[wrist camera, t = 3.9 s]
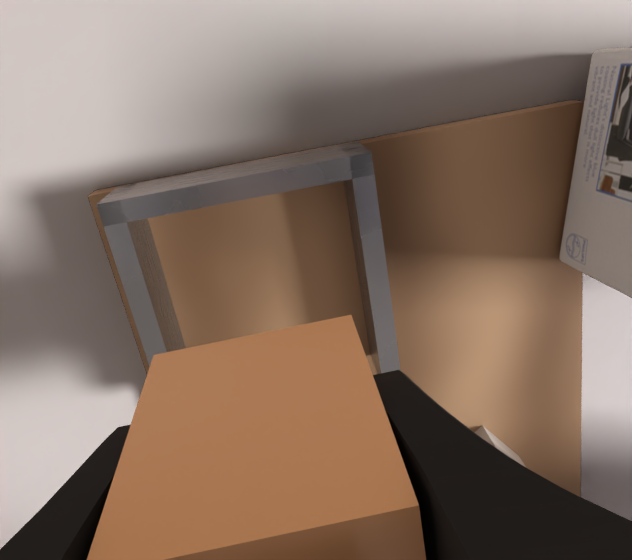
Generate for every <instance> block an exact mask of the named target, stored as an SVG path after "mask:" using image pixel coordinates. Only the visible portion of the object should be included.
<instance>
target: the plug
mask: <svg viewBox="0 0 632 560" xmlns="http://www.w3.org/2000/svg"><path fill="white" fill-rule="evenodd" d="M87 560H426V554H425V547H424V539H423V532H422V524H421V517H420V509H419V504H418V501H417V498H416V496H415V493H414V490H413V487H412V484H411V481H410V479H409V476H408V473H407V470H406V467H405V465H404V462H403V459H402V456H401V453H400V450H399V448H398V445H397V442H396V439H395V436H394V434H393V431H392V428H391V425H390V422H389V419H388V417H387V414H386V411H385V408H384V405H383V403H382V400H381V397H380V394H379V391H378V389H377V386H376V383H375V380H374V377H373V374H372V372H371V369H370V366H369V363H368V360H367V358H366V355H365V352H364V349H363V346H362V343H361V341H360V338H359V335H358V332H357V329H356V327H355V324H354V321H353V318H352V315H347V316H342V317H337V318H332V319H327V320H322V321H318V322H313V323H308V324H303V325H298V326H293V327H288V328H283V329H278V330H273V331H269V332H264V333H259V334H254V335H249V336H244V337H239V338H234V339H229V340H224V341H219V342H215V343H210V344H205V345H200V346H195V347H190V348H185V349H180V350H175V351H170V352H166V353H161V354H156V355H153V358H152V361H151V364H150V367H149V371H148V374H147V377H146V380H145V383H144V386H143V389H142V392H141V395H140V398H139V401H138V404H137V407H136V410H135V413H134V416H133V420H132V423H131V426H130V429H129V432H128V435H127V438H126V441H125V444H124V447H123V450H122V453H121V456H120V459H119V462H118V465H117V468H116V472H115V475H114V478H113V481H112V484H111V487H110V490H109V493H108V496H107V499H106V502H105V505H104V508H103V511H102V514H101V517H100V520H99V524H98V527H97V530H96V533H95V536H94V539H93V542H92V545H91V548H90V551H89V554H88V557H87Z"/></svg>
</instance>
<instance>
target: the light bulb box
mask: <svg viewBox="0 0 632 560" xmlns="http://www.w3.org/2000/svg"><path fill="white" fill-rule="evenodd" d="M559 258H560V260H561V261H562V262H564V263H566V264H567V265H569V266H571V267H573V268H575V269H577V270H579V271H581V272H583V273H584V274H586V275H588V276H590V277H592V278H594V279H596V280H598V281H600V282H602V283H604V284H606V285H608V286H610V287H612V288H614V289H616V290H618V291H620V292H622V293H624V294H625V295H627V296H629V297H631V298H632V47H628V48H609V49H601V50H596V51H595V52H594V53H593V54H592V57H591V63H590V70H589V76H588V82H587V88H586V94H585V100H584V107H583V113H582V119H581V125H580V131H579V138H578V144H577V150H576V156H575V162H574V168H573V174H572V180H571V187H570V193H569V199H568V205H567V211H566V218H565V224H564V230H563V236H562V242H561V249H560V257H559Z"/></svg>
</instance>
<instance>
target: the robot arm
mask: <svg viewBox="0 0 632 560" xmlns="http://www.w3.org/2000/svg"><path fill="white" fill-rule="evenodd" d="M373 377H374V380H375V383H376V386H377V389H378V391H379V394H380V397H381V400H382V403H383V405H384V408H385V411H386V414H387V417H388V419H389V422H390V425H391V428H392V431H393V434H394V436H395V439H396V442H397V445H398V448H399V450H400V453H401V456H402V459H403V462H404V465H405V467H406V470H407V473H408V476H409V479H410V481H411V484H412V487H413V490H414V493H415V496H416V498H417V501H418V504H419V509H420V517H421V524H422V532H423V539H424V547H425V554H426V560H632V521H630V520H628V519H625V518H623V517H621V516H619V515H617V514H615V513H613V512H610V511H608V510H606V509H604V508H602V507H600V506H598V505H596V504H593V503H591V502H589V501H587V500H585V499H583V498H581V497H579V496H577V495H575V494H573V493H571V492H569V491H567V490H565V489H563V488H561V487H560V486H558V485H556V484H554V483H552V482H551V481H549V480H547V479H545V478H544V477H542V476H540V475H538V474H537V473H535V472H533V471H531V470H530V469H528V468H526V467H524V466H523V465H521V464H520V463H518V462H517V461H515V460H513V459H512V458H510V457H509V456H507V455H506V454H504V453H503V452H501V451H500V450H498V449H497V448H496V447H494V446H493V445H491V444H490V443H488V442H487V441H485V440H484V439H483V438H481V437H480V436H479V435H477V434H476V433H474V432H473V431H472V430H470V429H469V428H468V427H467V426H465V425H464V424H463V423H461V422H460V421H459V420H458V419H456V418H455V417H454V416H452V415H451V414H450V413H449V412H447V411H446V410H445V409H444V408H443V407H441V406H440V405H439V404H438V403H437V402H435V401H434V400H433V399H432V398H431V397H430V396H429V395H427V394H426V393H425V392H424V391H423V390H422V389H421V388H420V387H418V386H417V385H416V384H415V383H414V382H413V381H412V380H411V379H410V378H409V377H408V376H407V375H406V374H405V373H403V372H402V371H400V370H395V371H390V372H385V373H380V374H375V375H373ZM130 426H131V425H127V426H122V427H118V428H117V429H116V430H115V431H114V432H113V433H112V434H110V435H109V437H108V438H107V439H106V440H105V441H104V442H103V443H102V444H101V445H100V446H99V447H98V448H97V449H96V450H95V451H94V452H93V453H92V455H91V456H90V457H89V458H88V459H87V460H86V461H85V462H84V463H83V464H82V466H81V467H80V468H79V469H78V470H77V471H76V472H75V473H74V474H73V475H72V476H71V477H70V479H69V480H68V481H67V482H66V483H65V484H64V485H63V486H62V487H61V488H60V489H59V490H58V491H57V492H56V494H55V495H54V496H53V497H52V498H51V499H50V500H49V501H48V502H47V503H46V504H45V505H44V506H43V507H42V508H41V510H40V511H39V512H38V513H37V514H36V515H35V516H34V517H33V518H32V519H31V520H30V521H29V522H27V523H26V524H25V525H24V526H23V527H22V528H21V529H20V530H19V531H18V532H17V533H16V534H15V535H14V536H13V537H12V538H11V539H10V540H9V541H8V542H7V543H6V544H5V545H4V546H3V547H2V548H1V549H0V560H87V557H88V554H89V551H90V548H91V545H92V542H93V539H94V536H95V533H96V530H97V527H98V524H99V520H100V517H101V514H102V511H103V508H104V505H105V502H106V499H107V496H108V493H109V490H110V487H111V484H112V481H113V478H114V475H115V472H116V468H117V465H118V462H119V459H120V456H121V453H122V450H123V447H124V444H125V441H126V438H127V435H128V432H129V429H130Z"/></svg>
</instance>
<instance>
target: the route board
mask: <svg viewBox="0 0 632 560" xmlns="http://www.w3.org/2000/svg"><path fill="white" fill-rule="evenodd" d="M583 107H584V102H583V101H574V100H568V101H562V102H557V103H552V104H547V105H541V106H536V107H531V108H526V109H520V110H515V111H510V112H505V113H499V114H494V115H489V116H484V117H478V118H473V119H468V120H462V121H457V122H452V123H447V124H441V125H436V126H431V127H426V128H420V129H415V130H410V131H405V132H399V133H394V134H389V135H384V136H378V137H373V138H368V139H363V140H357V141H358V142H359V143H361V144H362V145H363V146H365V147H366V148H367V149H368V150H370V151H371V152H372V159H373V167H374V174H375V182H376V189H377V197H378V204H379V212H380V219H381V227H382V234H383V242H384V249H385V257H386V264H387V272H388V279H389V287H390V294H391V302H392V309H393V317H394V324H395V332H396V339H397V347H398V354H399V362H400V370H401V371H402V372H403V373H405V374H406V375H407V376H408V377H409V378H410V379H411V380H412V381H413V382H414V383H415V384H416V385H417V386H418V387H420V388H421V389H422V390H423V391H424V392H425V393H426V394H427V395H429V396H430V397H431V398H432V399H433V400H434V401H435V402H437V403H438V404H439V405H440V406H441V407H443V408H444V409H445V410H446V411H447V412H449V413H450V414H451V415H452V416H454V417H455V418H456V419H458V420H459V421H460V422H461V423H463V424H464V425H465V426H467V427H468V428H469V429H470V430H472V431H473V432H474V433H476V434H477V435H479V436H480V437H481V438H483V439H484V440H485V441H487V442H488V443H490V444H491V445H493V446H494V447H496V448H497V449H498V450H500V451H501V452H503V453H504V454H506V455H507V456H509V457H510V458H512V459H513V460H515V461H517V462H518V463H520V464H521V465H523V466H524V467H526V468H528V469H530V470H531V471H533V472H535V473H537V474H538V475H540V476H542V477H544V478H545V479H547V480H549V481H551V482H552V483H554V484H556V485H558V486H560V487H561V488H563V489H565V490H567V491H569V492H571V493H573V494H575V495H577V496H579V497H581V382H582V272H581V271H579V270H577V269H575V268H573V267H571V266H569V265H567V264H566V263H564V262H562V261H561V260H560V258H559V257H560V249H561V242H562V236H563V230H564V224H565V218H566V211H567V205H568V199H569V193H570V187H571V180H572V174H573V168H574V162H575V156H576V150H577V144H578V138H579V131H580V125H581V119H582V113H583ZM352 142H356V141H352ZM347 143H351V142H347ZM342 144H345V143H342ZM336 145H340V144H336ZM331 146H335V145H331ZM326 147H330V146H326ZM321 148H324V147H321ZM315 149H319V148H315ZM310 150H314V149H310ZM305 151H309V150H305ZM299 152H303V151H299ZM294 153H298V152H294ZM289 154H293V153H289ZM284 155H288V154H284ZM278 156H282V155H278ZM273 157H277V156H273ZM268 158H272V157H268ZM263 159H267V158H263ZM257 160H261V159H257ZM252 161H256V160H252ZM247 162H251V161H247ZM242 163H246V162H242ZM236 164H240V163H236ZM231 165H235V164H231ZM226 166H230V165H226ZM221 167H225V166H221ZM215 168H219V167H215ZM210 169H214V168H210ZM205 170H209V169H205ZM200 171H204V170H200ZM194 172H198V171H194ZM189 173H193V172H189ZM184 174H188V173H184ZM179 175H182V174H179ZM173 176H177V175H173ZM168 177H172V176H168ZM163 178H167V177H163ZM158 179H161V178H158ZM152 180H156V179H152ZM147 181H151V180H147ZM142 182H146V181H142ZM137 183H140V182H137ZM131 184H135V183H131ZM126 185H130V184H126ZM121 186H125V185H121ZM116 187H119V186H115V187H110V188H105V189H100V190H95V191H94V192H92V193H91V194H90V195H88V199H89V202H90V205H91V208H92V211H93V214H94V217H95V220H96V223H97V226H98V229H99V232H100V235H101V238H102V241H103V244H104V247H105V250H106V253H107V256H108V259H109V262H110V265H111V268H112V271H113V274H114V277H115V280H116V283H117V286H118V289H119V292H120V295H121V298H122V301H123V304H124V307H125V310H126V313H127V316H128V319H129V322H130V325H131V328H132V331H133V334H134V337H135V340H136V343H137V346H138V349H139V352H140V355H141V358H142V361H143V364H144V367H145V370H146V373H147V374H148V371H149V367H150V366H149V363H148V360H147V357H146V354H145V351H144V348H143V345H142V342H141V339H140V336H139V333H138V330H137V327H136V324H135V321H134V318H133V315H132V312H131V309H130V306H129V303H128V299H127V296H126V293H125V290H124V287H123V284H122V281H121V278H120V275H119V272H118V269H117V266H116V263H115V260H114V257H113V254H112V251H111V248H110V245H109V242H108V239H107V236H106V233H105V230H104V227H103V223H102V220H101V217H100V214H99V211H98V208H97V205H96V204H97V203H99V202H100V201H101V200H102V199H103V198H104V197H106V196H107V195H108V194H109V193H110V192H112V191H113V190H114V189H115V188H116ZM148 221H149V225H150V228H151V231H152V235H153V238H154V241H155V245H156V248H157V252H158V255H159V258H160V262H161V265H162V268H163V272H164V275H165V279H166V282H167V285H168V289H169V292H170V295H171V299H172V302H173V306H174V309H175V312H176V316H177V319H178V322H179V326H180V329H181V333H182V336H183V339H184V343H185V346H186V348H190V347H195V346H200V345H205V344H210V343H215V342H219V341H224V340H229V339H234V338H239V337H244V336H249V335H254V334H259V333H264V332H269V331H273V330H278V329H283V328H288V327H293V326H298V325H303V324H308V323H313V322H318V321H322V320H327V319H332V318H337V317H342V316H347V315H352V318H353V321H354V324H355V327H356V329H357V332H358V335H359V338H360V341H361V343H362V346H363V349H364V352H365V355H366V358H367V360H368V363H369V366H370V369H371V372H372V374H373V375H375V374H377V371H376V369H375V366H374V363H373V361H372V358H371V355H370V349H369V343H368V336H367V330H366V323H365V317H364V310H363V304H362V297H361V291H360V284H359V278H358V272H357V265H356V259H355V252H354V246H353V239H352V233H351V226H350V220H349V213H348V207H347V201H346V194H345V188H344V181H339V182H334V183H329V184H324V185H318V186H313V187H308V188H303V189H297V190H292V191H287V192H282V193H277V194H271V195H266V196H261V197H256V198H251V199H245V200H240V201H235V202H230V203H224V204H219V205H214V206H209V207H204V208H198V209H193V210H188V211H183V212H178V213H172V214H167V215H162V216H157V217H151V218H148Z"/></svg>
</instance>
